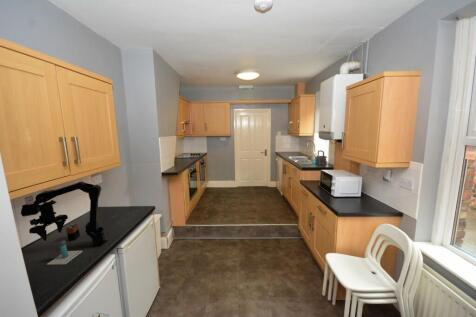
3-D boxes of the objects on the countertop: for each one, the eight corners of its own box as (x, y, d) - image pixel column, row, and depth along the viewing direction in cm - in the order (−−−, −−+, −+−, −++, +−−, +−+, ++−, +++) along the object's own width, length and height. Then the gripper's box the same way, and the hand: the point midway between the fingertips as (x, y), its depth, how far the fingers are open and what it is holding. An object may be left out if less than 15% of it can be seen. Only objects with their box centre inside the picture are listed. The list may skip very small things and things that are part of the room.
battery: (80, 235, 145) (77, 222, 144) (75, 240, 139) (72, 227, 137) (73, 236, 144) (70, 223, 143) (68, 241, 138) (65, 228, 136)
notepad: (66, 252, 125) (65, 251, 125) (82, 251, 124) (82, 250, 124) (46, 265, 113) (46, 264, 113) (64, 264, 113) (64, 263, 112)
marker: (65, 255, 120) (61, 240, 119) (70, 255, 120) (66, 240, 119) (60, 258, 117) (56, 243, 116) (65, 258, 117) (61, 243, 116)
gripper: (50, 206, 129) (55, 229, 131) (17, 220, 110) (23, 245, 113) (66, 206, 128) (71, 228, 130) (35, 219, 110) (42, 245, 112)
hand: (52, 236), depth 121 cm, fingers open, 9 cm apart
